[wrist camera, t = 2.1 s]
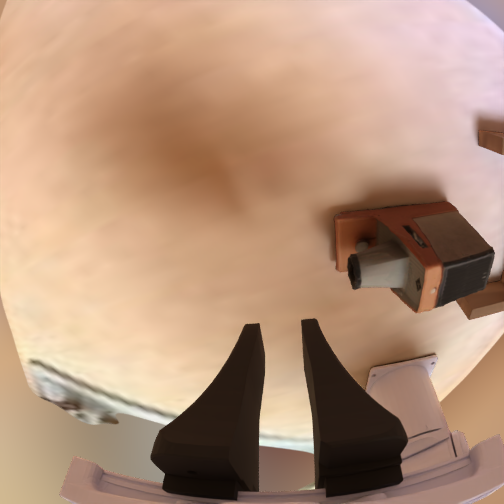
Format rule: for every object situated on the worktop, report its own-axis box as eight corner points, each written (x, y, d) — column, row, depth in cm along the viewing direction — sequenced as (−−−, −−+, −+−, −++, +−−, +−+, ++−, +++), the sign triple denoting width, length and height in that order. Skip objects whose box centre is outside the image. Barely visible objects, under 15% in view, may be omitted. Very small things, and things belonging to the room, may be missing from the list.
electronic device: (330, 209, 20) (358, 267, 14) (448, 197, 19) (507, 243, 12) (333, 264, 22) (355, 334, 16) (443, 248, 21) (490, 304, 14)
